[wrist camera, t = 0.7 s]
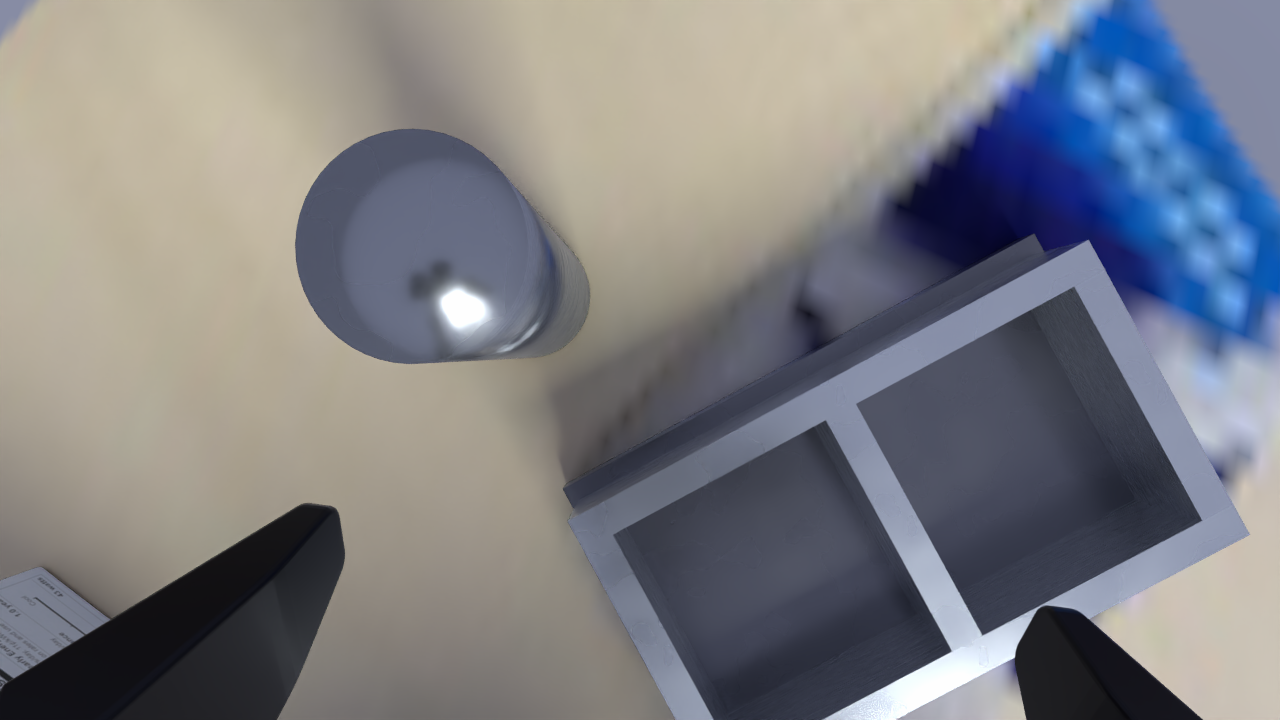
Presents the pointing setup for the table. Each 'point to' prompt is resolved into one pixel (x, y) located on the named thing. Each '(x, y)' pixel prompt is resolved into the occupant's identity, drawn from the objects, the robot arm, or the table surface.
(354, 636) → the table surface
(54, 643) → the light bulb box
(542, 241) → the shiny gray cylinder
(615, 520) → the gray divided tray
